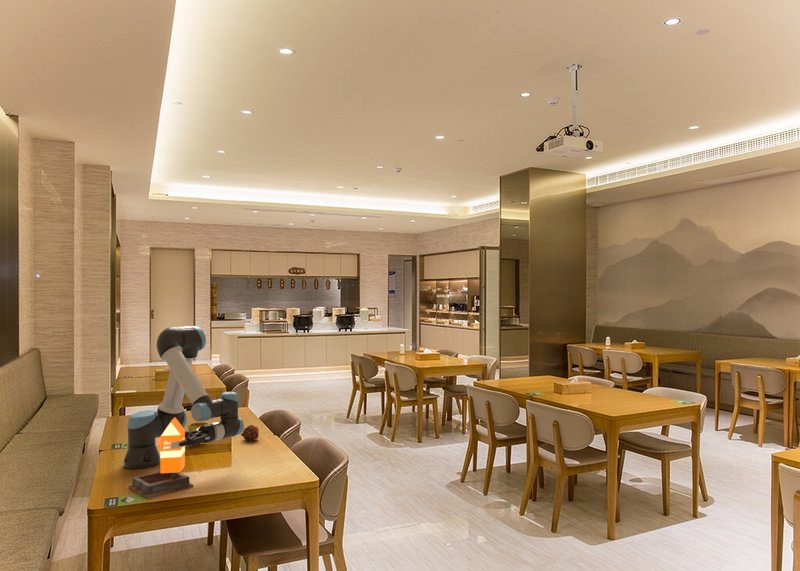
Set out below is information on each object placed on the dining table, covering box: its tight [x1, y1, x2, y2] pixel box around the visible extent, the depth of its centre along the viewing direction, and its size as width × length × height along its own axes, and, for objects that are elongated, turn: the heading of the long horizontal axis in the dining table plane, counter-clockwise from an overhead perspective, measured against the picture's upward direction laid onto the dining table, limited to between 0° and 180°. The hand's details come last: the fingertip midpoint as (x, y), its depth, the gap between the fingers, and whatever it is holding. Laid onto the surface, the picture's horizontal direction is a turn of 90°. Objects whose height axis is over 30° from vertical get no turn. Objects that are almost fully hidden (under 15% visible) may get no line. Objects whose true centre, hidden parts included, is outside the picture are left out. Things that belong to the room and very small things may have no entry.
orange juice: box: [159, 418, 186, 473], centre depth 229 cm, size 8×9×20 cm
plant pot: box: [187, 421, 210, 431], centre depth 297 cm, size 10×10×10 cm
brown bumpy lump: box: [240, 424, 260, 442], centre depth 302 cm, size 8×8×12 cm
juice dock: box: [128, 470, 194, 499], centre depth 228 cm, size 18×18×4 cm
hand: (163, 444), depth 226 cm, fingers closed on orange juice, 10 cm apart
